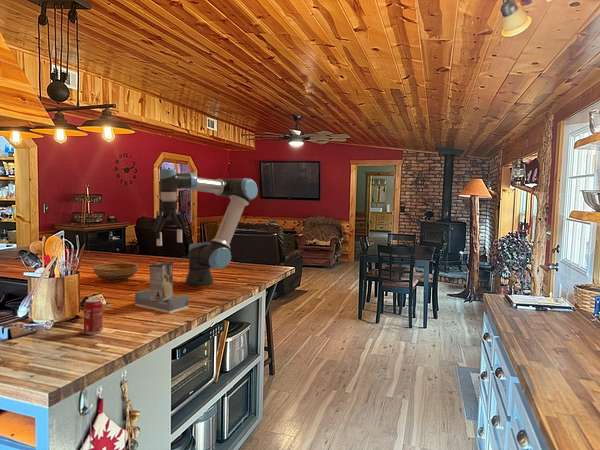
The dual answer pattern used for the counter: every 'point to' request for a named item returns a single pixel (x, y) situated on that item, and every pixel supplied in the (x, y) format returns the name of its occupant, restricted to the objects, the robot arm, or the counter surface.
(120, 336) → the counter surface
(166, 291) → the coffee box
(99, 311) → the beverage can
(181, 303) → the grey tray
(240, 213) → the robot arm
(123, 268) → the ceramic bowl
